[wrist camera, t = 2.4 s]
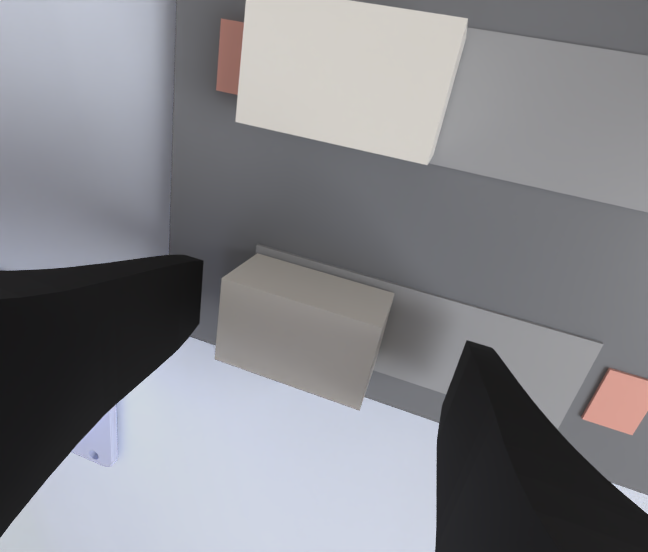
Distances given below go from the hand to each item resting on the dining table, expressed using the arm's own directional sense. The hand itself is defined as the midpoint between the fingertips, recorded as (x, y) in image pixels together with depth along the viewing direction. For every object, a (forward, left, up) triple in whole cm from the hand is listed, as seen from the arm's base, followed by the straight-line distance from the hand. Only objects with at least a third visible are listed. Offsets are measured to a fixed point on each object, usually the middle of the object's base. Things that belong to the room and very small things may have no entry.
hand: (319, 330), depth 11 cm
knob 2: (0, 0, -1) cm, 1 cm away
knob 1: (0, +6, -1) cm, 6 cm away
